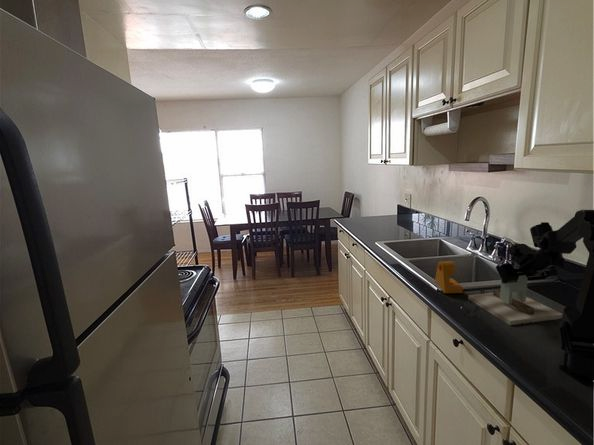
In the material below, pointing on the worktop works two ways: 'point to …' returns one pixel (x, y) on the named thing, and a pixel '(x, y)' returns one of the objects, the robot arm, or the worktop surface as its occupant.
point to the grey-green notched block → (514, 290)
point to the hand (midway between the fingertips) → (510, 281)
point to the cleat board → (514, 309)
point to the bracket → (447, 277)
